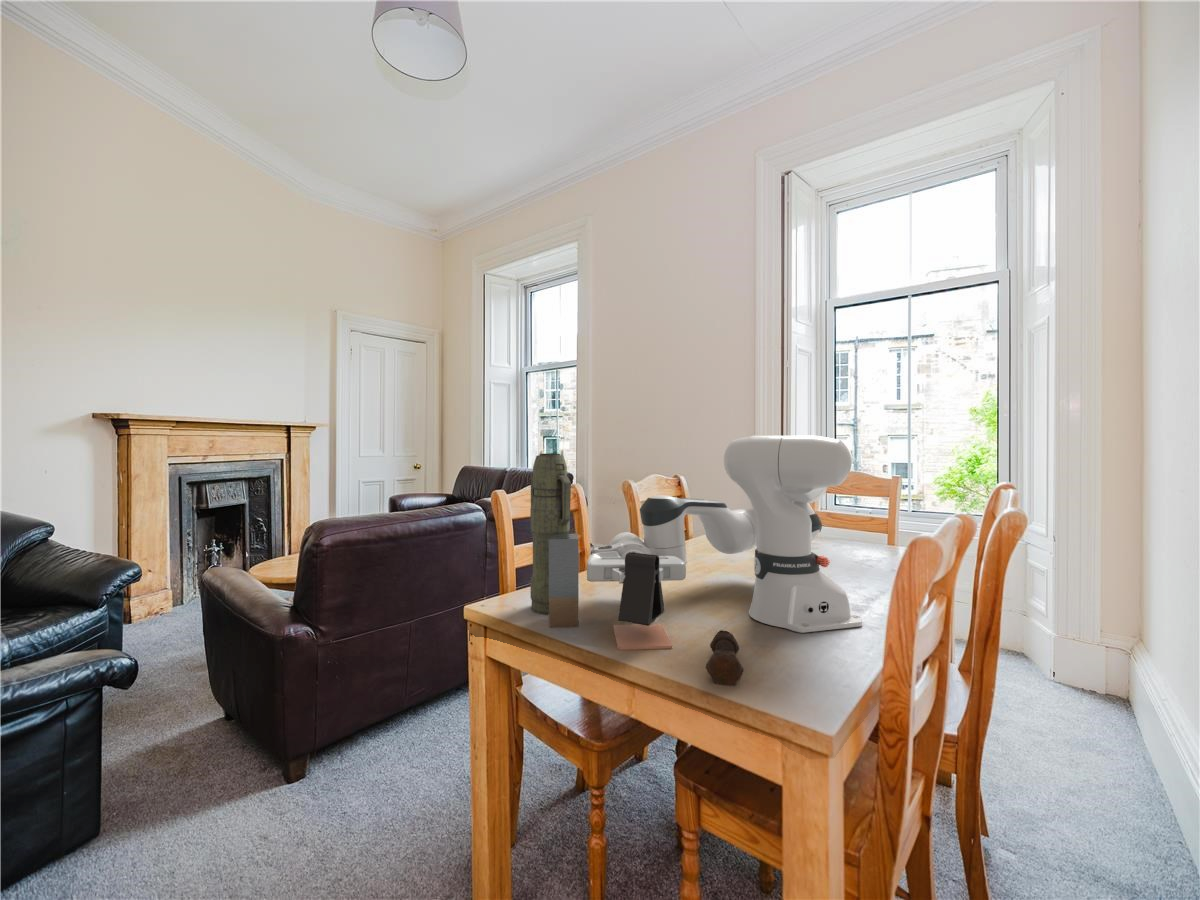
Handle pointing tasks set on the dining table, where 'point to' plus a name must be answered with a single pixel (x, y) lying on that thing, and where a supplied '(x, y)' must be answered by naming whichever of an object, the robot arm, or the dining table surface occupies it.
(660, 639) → the terracotta tile
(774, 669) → the dining table surface
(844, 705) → the dining table surface
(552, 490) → the thermos
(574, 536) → the rectangular metal block
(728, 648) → the bolt
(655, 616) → the black folding stand
